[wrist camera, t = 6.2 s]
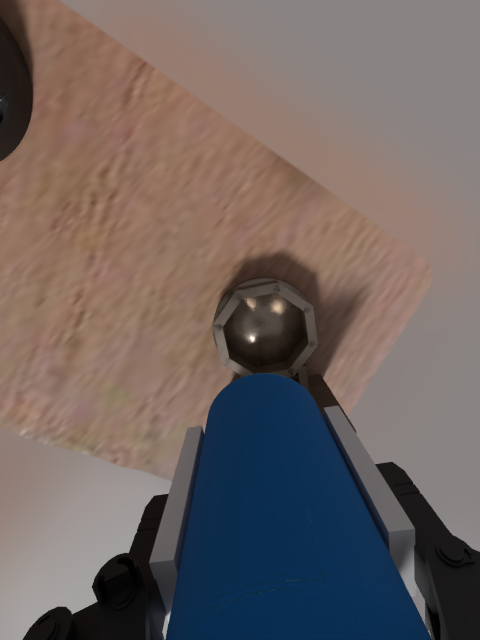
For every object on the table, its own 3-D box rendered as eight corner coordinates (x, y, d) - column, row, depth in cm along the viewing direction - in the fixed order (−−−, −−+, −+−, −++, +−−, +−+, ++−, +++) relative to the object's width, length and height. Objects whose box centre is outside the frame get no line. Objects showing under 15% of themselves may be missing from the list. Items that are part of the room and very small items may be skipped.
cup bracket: (203, 288, 32) (187, 311, 22) (306, 268, 32) (341, 281, 21) (228, 398, 36) (225, 462, 26) (321, 381, 36) (357, 440, 25)
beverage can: (187, 425, 17) (75, 804, 5) (253, 345, 16) (292, 617, 4) (270, 479, 18) (325, 898, 6) (338, 408, 17) (562, 770, 5)
